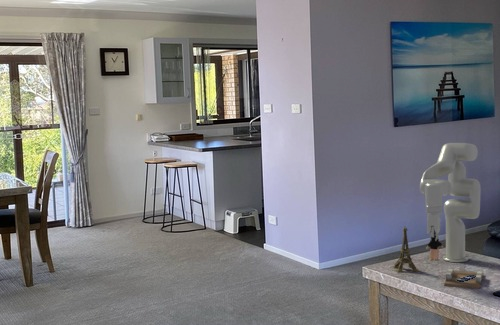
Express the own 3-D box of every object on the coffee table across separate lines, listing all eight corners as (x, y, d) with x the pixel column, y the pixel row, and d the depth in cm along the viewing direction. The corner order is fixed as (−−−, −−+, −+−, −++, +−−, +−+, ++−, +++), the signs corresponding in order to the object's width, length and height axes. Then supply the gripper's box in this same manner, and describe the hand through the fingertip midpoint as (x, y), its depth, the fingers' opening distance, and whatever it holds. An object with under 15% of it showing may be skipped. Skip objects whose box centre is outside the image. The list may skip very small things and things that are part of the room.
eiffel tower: (397, 272, 312) (396, 222, 309) (392, 266, 323) (391, 218, 320) (419, 271, 312) (418, 221, 309) (413, 266, 323) (412, 217, 320)
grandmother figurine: (428, 261, 296) (427, 235, 294) (425, 259, 300) (425, 233, 297) (444, 260, 296) (444, 234, 294) (441, 257, 300) (441, 231, 298)
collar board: (450, 272, 308) (450, 265, 308) (483, 275, 302) (483, 267, 302) (444, 285, 289) (444, 278, 288) (479, 288, 282) (479, 281, 282)
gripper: (428, 205, 303) (429, 242, 306) (422, 212, 289) (423, 252, 291) (444, 205, 300) (445, 243, 303) (439, 213, 286) (440, 253, 288)
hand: (434, 247), depth 297 cm, fingers closed on grandmother figurine, 3 cm apart
